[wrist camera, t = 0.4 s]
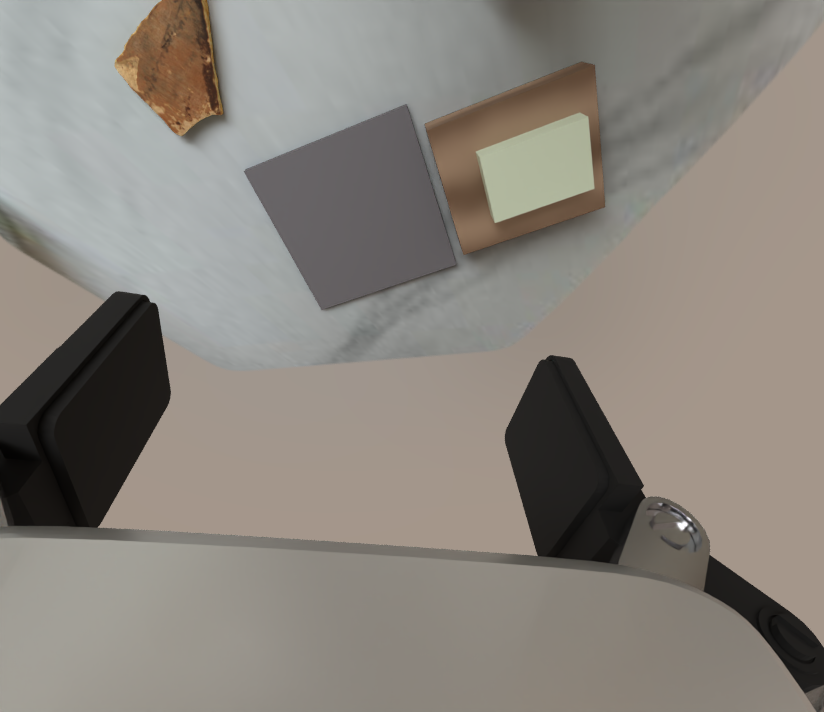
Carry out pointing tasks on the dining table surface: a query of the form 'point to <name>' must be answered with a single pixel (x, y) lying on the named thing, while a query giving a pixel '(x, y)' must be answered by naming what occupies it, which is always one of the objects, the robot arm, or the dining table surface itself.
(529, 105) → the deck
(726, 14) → the dining table surface
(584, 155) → the pale green block
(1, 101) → the dining table surface
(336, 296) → the mat
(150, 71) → the shard
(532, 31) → the dining table surface
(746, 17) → the dining table surface
